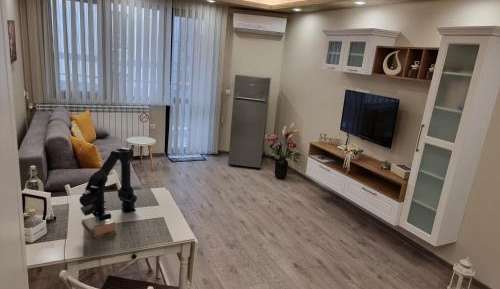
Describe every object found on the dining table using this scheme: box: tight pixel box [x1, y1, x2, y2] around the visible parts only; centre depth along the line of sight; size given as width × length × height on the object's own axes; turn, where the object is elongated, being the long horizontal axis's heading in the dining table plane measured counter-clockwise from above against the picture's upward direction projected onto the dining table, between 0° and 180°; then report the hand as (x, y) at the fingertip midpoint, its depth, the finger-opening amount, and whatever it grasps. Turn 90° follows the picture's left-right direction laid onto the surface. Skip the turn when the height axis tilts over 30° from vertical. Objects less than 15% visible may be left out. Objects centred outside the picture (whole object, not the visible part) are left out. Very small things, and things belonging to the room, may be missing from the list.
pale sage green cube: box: [95, 219, 111, 226], centre depth 183 cm, size 6×5×5 cm
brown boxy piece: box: [81, 216, 117, 240], centre depth 187 cm, size 10×22×6 cm, turn 44°
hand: (98, 224), depth 187 cm, fingers closed
